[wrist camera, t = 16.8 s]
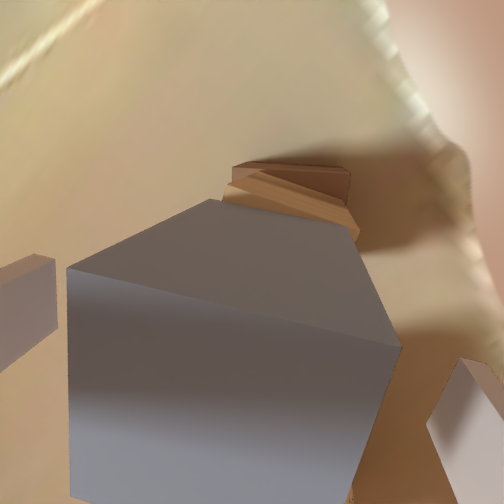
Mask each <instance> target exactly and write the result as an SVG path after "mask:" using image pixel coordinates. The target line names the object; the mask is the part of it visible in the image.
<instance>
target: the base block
mask: <svg viewBox="0 0 504 504" xmlns="http://www.w3.org/2000/svg"><path fill="white" fill-rule="evenodd" d="M258 171H260V172H263V173H266V174H269V175H271V176H274V177H277V178H280V179H283V180H286V181H289V182H292V183H295V184H297V185H300V186H303V187H306V188H309V189H312V190H315V191H318V192H321V193H323V194H326V195H329V196H332V197H335V198H338V199H341V200H342V201H343V202H344V204H345V206H346V205H347V197H348V190H349V183H350V176H351V174H350V173H349V172H348V171H346V170H345V169H344V168H343V167H332V166H314V165H296V164H278V163H260V162H245V163H242V164H240V165H237V166H234V167H232V182H234V181H236V180H238V179H241V178H243V177H246V176H248V175H250V174H253V173H255V172H258Z"/></svg>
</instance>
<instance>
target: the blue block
mask: <svg viewBox="0 0 504 504" xmlns="http://www.w3.org/2000/svg"><path fill="white" fill-rule="evenodd" d="M67 330H68V393H69V455H70V496H71V497H74V498H77V499H80V500H83V501H86V502H89V503H92V504H344V503H345V501H346V498H347V495H348V492H349V490H350V487H351V484H352V482H353V479H354V476H355V474H356V471H357V468H358V465H359V463H360V460H361V457H362V455H363V452H364V449H365V446H366V444H367V441H368V438H369V436H370V433H371V430H372V428H373V425H374V422H375V419H376V417H377V414H378V411H379V409H380V406H381V403H382V401H383V398H384V395H385V392H386V390H387V387H388V384H389V382H390V379H391V376H392V373H393V371H394V368H395V365H396V363H397V360H398V357H399V355H400V352H401V349H402V346H401V344H400V341H399V339H398V337H397V335H396V333H395V330H394V328H393V326H392V324H391V322H390V319H389V317H388V315H387V313H386V311H385V309H384V306H383V304H382V302H381V300H380V298H379V295H378V293H377V291H376V289H375V287H374V285H373V282H372V280H371V278H370V276H369V274H368V271H367V269H366V267H365V265H364V263H363V261H362V258H361V256H360V254H359V252H358V250H357V247H356V245H355V243H354V241H353V239H352V237H351V234H350V232H349V230H348V228H347V226H343V225H338V224H333V223H328V222H323V221H318V220H313V219H308V218H303V217H298V216H293V215H288V214H283V213H278V212H274V211H269V210H264V209H259V208H254V207H249V206H244V205H239V204H234V203H229V202H224V201H219V200H214V199H208V200H206V201H204V202H202V203H200V204H198V205H196V206H194V207H192V208H190V209H187V210H185V211H183V212H181V213H179V214H177V215H175V216H173V217H171V218H169V219H167V220H165V221H163V222H160V223H158V224H156V225H154V226H152V227H150V228H148V229H146V230H144V231H142V232H140V233H138V234H136V235H133V236H131V237H129V238H127V239H125V240H123V241H121V242H119V243H117V244H115V245H113V246H111V247H109V248H106V249H104V250H102V251H100V252H98V253H96V254H94V255H92V256H90V257H88V258H86V259H84V260H82V261H79V262H77V263H75V264H73V265H71V266H69V267H67Z"/></svg>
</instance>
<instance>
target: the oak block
mask: <svg viewBox="0 0 504 504" xmlns="http://www.w3.org/2000/svg"><path fill="white" fill-rule="evenodd" d="M222 201H224V202H229V203H234V204H239V205H244V206H249V207H254V208H259V209H264V210H269V211H274V212H278V213H283V214H288V215H293V216H298V217H303V218H308V219H313V220H318V221H323V222H328V223H333V224H338V225H343V226H347V228H348V230H349V232H350V234H351V237H352V239H353V241H354V243H356V241H357V238H358V236H359V234H360V232H361V231H360V229H359V228H358V226H357V224H356V223H355V221H354V219H353V218H352V216H351V214H350V213H349V211H348V209H347V207H346V206H345V204H344V202H343V201H342V200H341V199H338V198H335V197H332V196H329V195H326V194H323V193H321V192H318V191H315V190H312V189H309V188H306V187H303V186H300V185H297V184H295V183H292V182H289V181H286V180H283V179H280V178H277V177H274V176H271V175H269V174H266V173H263V172H260V171H258V172H255V173H253V174H250V175H248V176H246V177H243V178H241V179H238V180H236V181H234V182H231V183H229V184H227V186H226V189H225V192H224V196H223V199H222Z"/></svg>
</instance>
